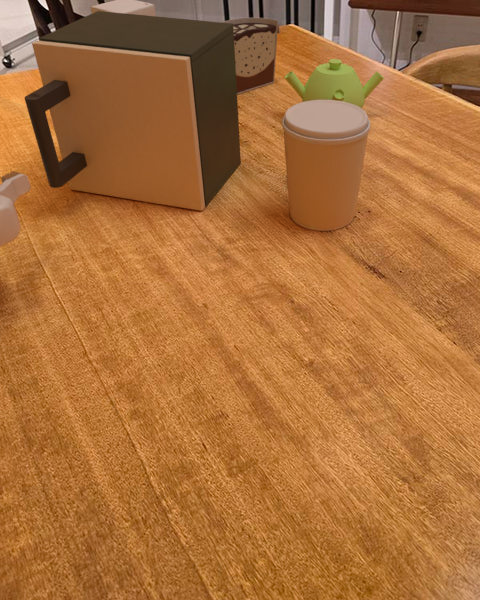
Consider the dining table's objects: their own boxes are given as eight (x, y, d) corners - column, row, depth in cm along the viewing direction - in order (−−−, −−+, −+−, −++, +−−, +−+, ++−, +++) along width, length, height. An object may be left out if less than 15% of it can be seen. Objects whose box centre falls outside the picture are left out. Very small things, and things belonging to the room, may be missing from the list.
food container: (257, 72, 107) (255, 12, 101) (280, 80, 104) (280, 20, 98) (203, 88, 101) (197, 25, 94) (225, 98, 97) (221, 34, 91)
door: (181, 237, 65) (159, 79, 54) (42, 212, 69) (-5, 59, 58) (205, 207, 70) (190, 56, 59) (74, 185, 74) (37, 40, 63)
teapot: (329, 96, 98) (332, 43, 93) (384, 116, 92) (390, 61, 87) (282, 115, 92) (281, 59, 87) (337, 137, 86) (340, 79, 81)
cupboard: (206, 207, 70) (191, 54, 59) (75, 185, 74) (38, 38, 63) (241, 163, 79) (233, 23, 68) (123, 146, 83) (97, 10, 72)
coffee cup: (372, 204, 71) (383, 107, 64) (344, 243, 65) (352, 140, 57) (302, 187, 74) (304, 93, 67) (268, 223, 68) (266, 122, 60)
